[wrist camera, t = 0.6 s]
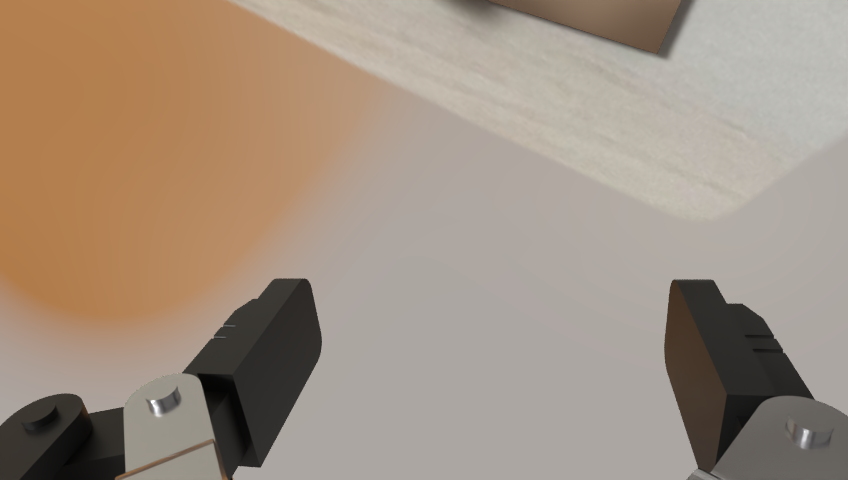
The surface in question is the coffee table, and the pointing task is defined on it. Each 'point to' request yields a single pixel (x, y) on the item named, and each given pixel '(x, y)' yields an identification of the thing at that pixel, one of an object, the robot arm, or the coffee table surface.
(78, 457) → the robot arm
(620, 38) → the wall board
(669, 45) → the coffee table surface
